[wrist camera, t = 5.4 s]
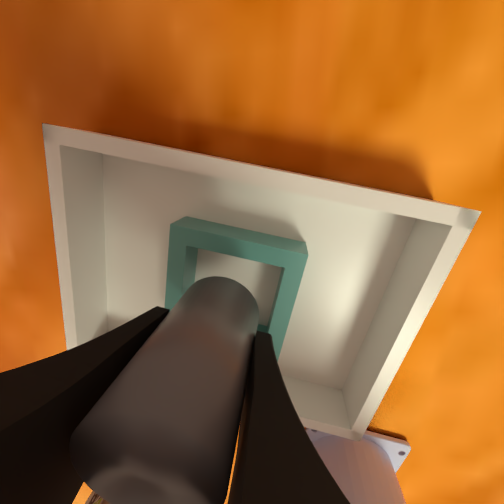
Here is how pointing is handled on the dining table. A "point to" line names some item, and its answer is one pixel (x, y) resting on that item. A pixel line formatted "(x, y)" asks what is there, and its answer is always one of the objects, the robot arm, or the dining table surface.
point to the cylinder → (174, 405)
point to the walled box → (253, 259)
